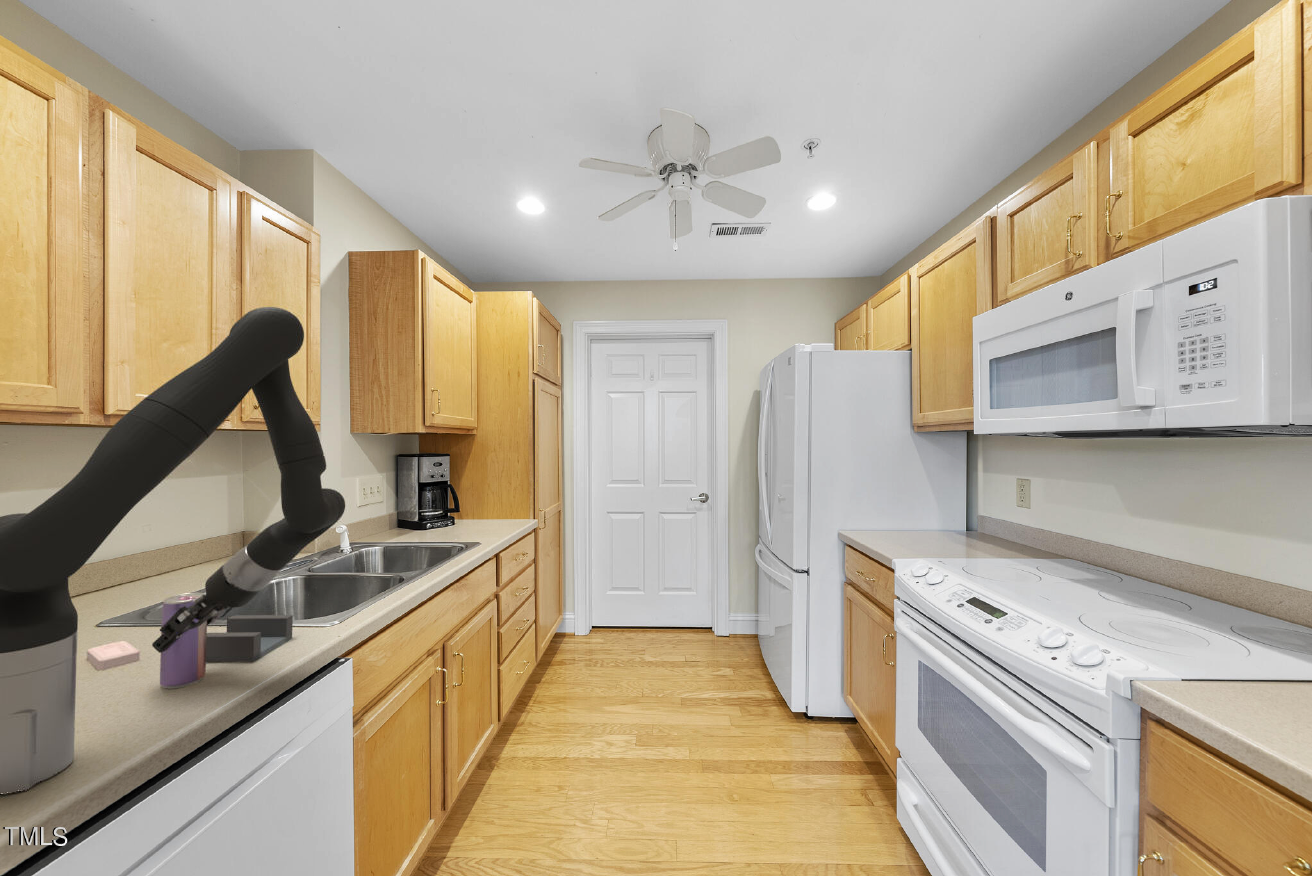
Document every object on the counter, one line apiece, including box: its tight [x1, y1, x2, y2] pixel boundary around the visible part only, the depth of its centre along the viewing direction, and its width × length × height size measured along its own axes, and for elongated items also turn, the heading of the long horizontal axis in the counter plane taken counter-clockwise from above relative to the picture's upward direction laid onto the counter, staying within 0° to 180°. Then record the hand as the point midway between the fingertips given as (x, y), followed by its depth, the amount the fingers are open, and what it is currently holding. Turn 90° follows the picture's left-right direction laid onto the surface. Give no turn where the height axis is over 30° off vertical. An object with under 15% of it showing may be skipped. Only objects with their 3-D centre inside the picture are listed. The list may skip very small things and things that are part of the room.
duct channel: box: [206, 614, 294, 664], centre depth 105 cm, size 12×12×5 cm
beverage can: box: [159, 592, 208, 690], centre depth 91 cm, size 6×6×15 cm
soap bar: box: [86, 640, 141, 671], centre depth 99 cm, size 5×9×2 cm, turn 59°
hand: (173, 640), depth 91 cm, fingers closed on beverage can, 5 cm apart
